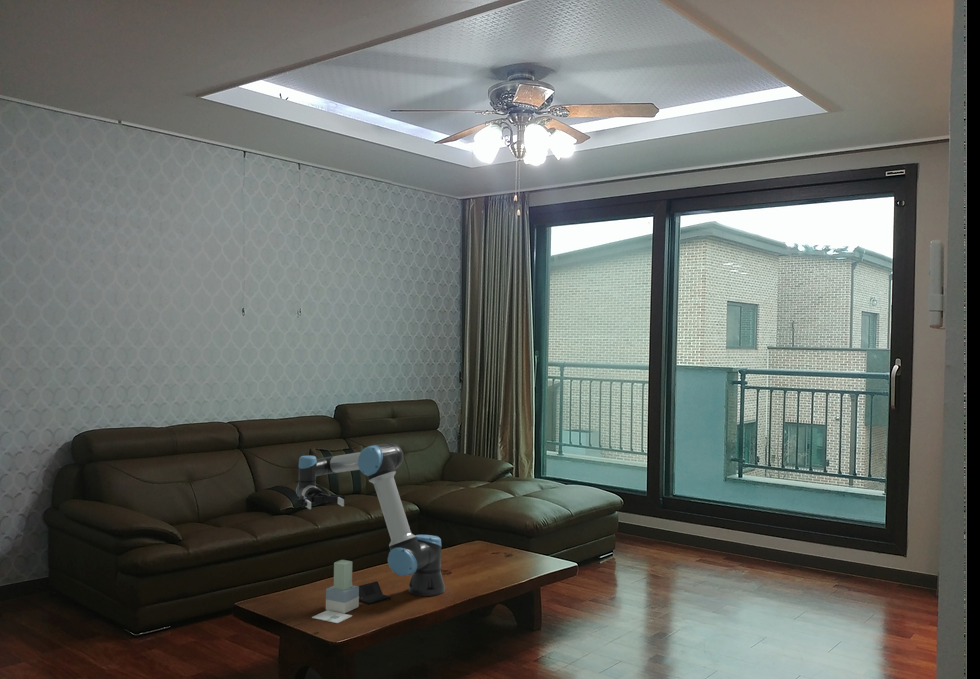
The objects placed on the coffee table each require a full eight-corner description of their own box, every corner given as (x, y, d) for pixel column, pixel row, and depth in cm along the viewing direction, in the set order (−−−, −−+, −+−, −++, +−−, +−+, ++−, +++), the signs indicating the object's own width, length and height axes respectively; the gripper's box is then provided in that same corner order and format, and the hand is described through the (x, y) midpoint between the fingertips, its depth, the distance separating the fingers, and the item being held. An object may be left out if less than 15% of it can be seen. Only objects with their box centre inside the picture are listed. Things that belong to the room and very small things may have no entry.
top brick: (351, 587, 304) (352, 561, 304) (344, 590, 300) (344, 564, 300) (341, 585, 306) (342, 559, 306) (333, 588, 302) (334, 562, 302)
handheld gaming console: (373, 602, 307) (364, 578, 311) (361, 610, 309) (353, 587, 314) (393, 599, 316) (384, 576, 320) (381, 607, 318) (373, 584, 323)
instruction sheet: (352, 616, 294) (352, 615, 294) (337, 623, 286) (337, 622, 286) (327, 611, 300) (327, 609, 300) (311, 617, 292) (311, 616, 292)
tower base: (358, 606, 305) (358, 586, 305) (344, 613, 297) (344, 592, 297) (340, 603, 309) (340, 582, 309) (325, 609, 301) (326, 588, 301)
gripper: (340, 502, 340) (356, 511, 321) (283, 506, 328) (296, 516, 309) (341, 484, 340) (356, 492, 321) (283, 488, 328) (296, 497, 309)
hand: (326, 504), depth 315 cm, fingers open, 13 cm apart
